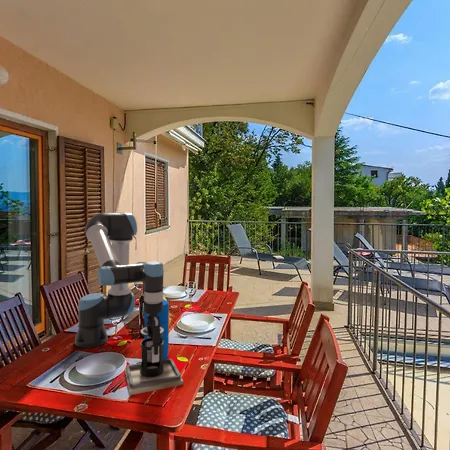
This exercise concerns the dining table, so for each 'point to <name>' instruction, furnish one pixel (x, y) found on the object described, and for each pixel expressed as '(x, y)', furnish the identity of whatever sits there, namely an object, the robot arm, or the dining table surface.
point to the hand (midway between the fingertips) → (152, 356)
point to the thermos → (163, 324)
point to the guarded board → (152, 378)
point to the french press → (148, 355)
